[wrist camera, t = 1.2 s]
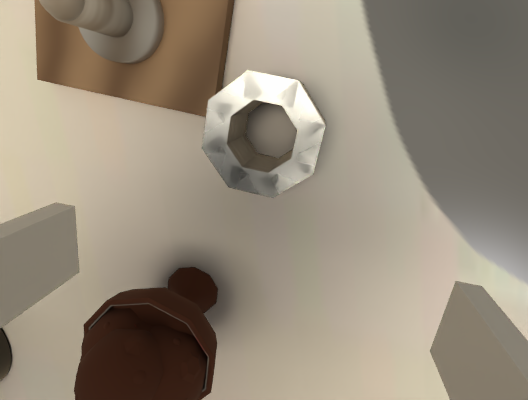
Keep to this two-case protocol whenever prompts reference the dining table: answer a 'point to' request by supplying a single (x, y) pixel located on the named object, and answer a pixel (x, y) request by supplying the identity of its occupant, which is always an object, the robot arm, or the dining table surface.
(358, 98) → the dining table surface
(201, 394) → the ice cream bowl
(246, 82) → the ring
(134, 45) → the shaft stand
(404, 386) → the dining table surface
